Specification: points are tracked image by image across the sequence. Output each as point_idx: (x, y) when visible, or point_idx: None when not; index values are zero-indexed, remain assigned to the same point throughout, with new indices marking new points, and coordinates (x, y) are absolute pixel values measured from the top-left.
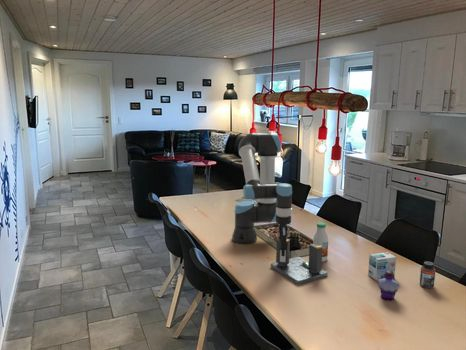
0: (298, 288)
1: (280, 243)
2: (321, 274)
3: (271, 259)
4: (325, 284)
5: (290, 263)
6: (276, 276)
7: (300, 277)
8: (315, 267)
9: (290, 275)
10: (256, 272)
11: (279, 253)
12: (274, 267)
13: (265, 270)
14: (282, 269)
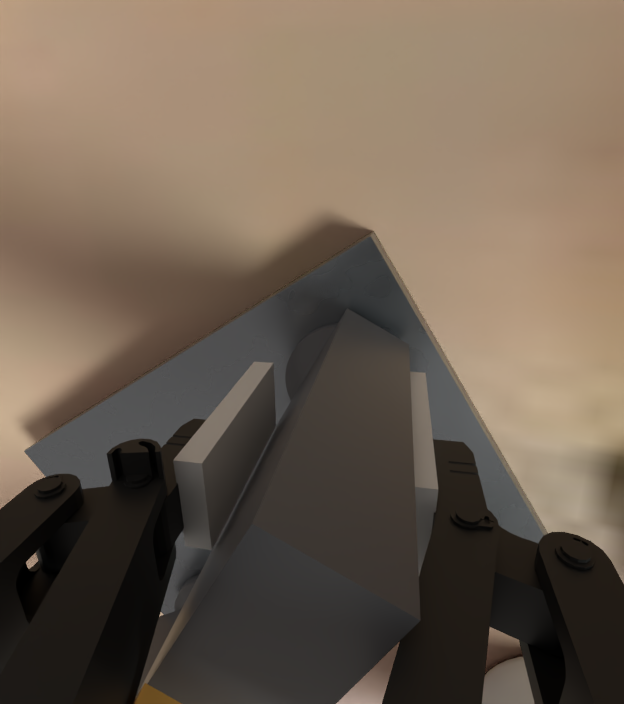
0: (5, 425)
1: (225, 548)
2: None
3: (617, 255)
4: None
5: None
6: (161, 278)
7: (88, 481)
8: (156, 645)
9: (106, 411)
10: (222, 39)
11: (297, 403)
12: (304, 275)
13: (285, 162)
14: (220, 357)
